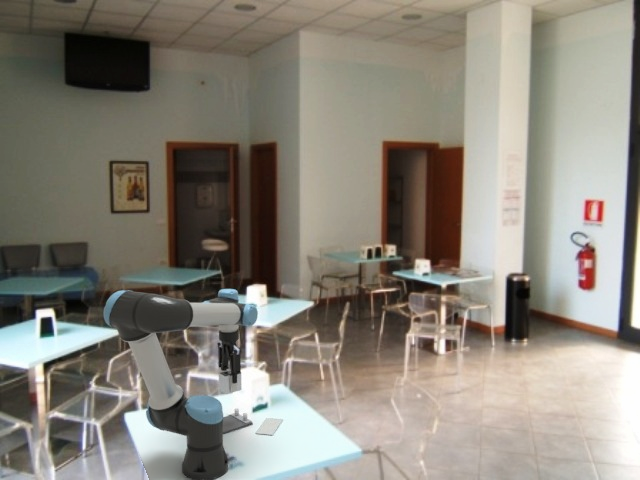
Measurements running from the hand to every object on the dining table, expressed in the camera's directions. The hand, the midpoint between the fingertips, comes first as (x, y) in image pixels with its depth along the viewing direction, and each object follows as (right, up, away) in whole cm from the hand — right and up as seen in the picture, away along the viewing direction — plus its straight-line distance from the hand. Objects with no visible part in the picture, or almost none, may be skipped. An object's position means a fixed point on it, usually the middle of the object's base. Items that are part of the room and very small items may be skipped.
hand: (229, 388), depth 225 cm
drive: (0, -1, 0) cm, 1 cm away
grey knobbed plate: (-1, -15, +2) cm, 15 cm away
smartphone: (+15, -16, +1) cm, 22 cm away
